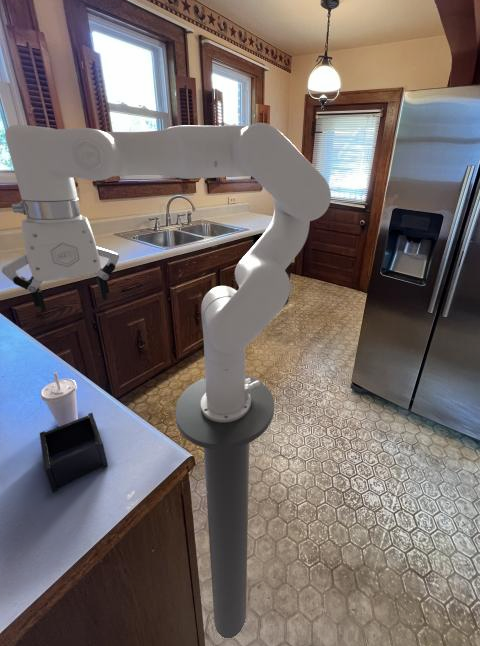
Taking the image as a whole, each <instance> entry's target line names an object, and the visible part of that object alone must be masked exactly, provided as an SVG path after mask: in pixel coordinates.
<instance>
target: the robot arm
mask: <svg viewBox="0 0 480 646" xmlns="http://www.w3.org/2000/svg"><path fill="white" fill-rule="evenodd" d="M4 136H5V140H6V141H5V142H6V145H7V149H8V153H9V157H10V161H11V163H12V167H13V171H14V175H15V178H16V179H15V180H16V183H17V186H18V190H19V194H20V198H21V201H19V202H17V203H11V208H12V212H13V213H14V214H20V215H21V214H23V215H24V216H26V218H23V219H22V221H21V233H22V240H23V245H24V250H25V254H22V256H19V257H18V258H16V259H14V260H13V261H11V262H9V263H7V264H5V265H4V266H2V267H1V273H2V274H3V275H4V276H6V277H7V279H8V280H10V281H11V282H13V284H15V285H16V286H18V287H20V288H23V289H25V290H27V291H28V292H29V293H30V295H31V298H32V303H33V306H34V308H40V311H41V313H46V312H47V307H46V304H45V299H44V297H43V293H42V289H41V285H42V283H43V282H50V281H51V282H52V281H57V280H64V279H70V278H77V277H83V276H88V275H93V274H95V275H96V279H95V280H96V283H97V289H98V294H99V296H100V298H101V299H102V300H104V301H105V300H108V296H107V294H110V289H109V283H108V280H109V278H110V275H112V273H114V271H115V269H116V266H117V264H118V261H119V259H120V255H119V254H118V253H117V252H114V251H113V250H109V249H105V248H102V247H99V246H97V242H96V239H95V236H94V233H93V229H92V227H91V224H90V221H89V219H88V217H87V216H84V215H82V213H81V212H82V211H81V207H80V203H79V198H78V192H77V191H78V190H77V187H76V182H75V179H81V180H85V181H86V180H88V181H95V182H96V181H104V180H108V179H110V178H112V177H128V176H167V177H171V178H177V179H187V180H188V179H189V180H195V179H214V178H215V179H216V178H238V177H239V178H240V177H252V178H253V179H254V180H255V181H256V182H257V183H258V184H259V185H260V186H261V187H262V188H263V189H264V190H265V191H266V192H268V194H270V195H271V199H272V202H273V214H272V215H273V216H272V218H271V221H270V223H269V225H268V227H267V228H266V230H265V231H264V232H263V233H262V235H261V236H260V237H259V239H258V240H257V241H256V242H255V243H254V244H253V246H252V247H251V248H250V249H249V250H248V251H247V252H246V254H244V255H243V257H242V258H241V259H240V260H239V261H238V263H237V265H236V266H235V269H234V278H235V282H236V284H237V286H238V289H237V290H236V289H235V288H233V287H231V286H227V285H218V286H215V287H213V288H211V289H210V290H209V291H207V292H206V294H205V295H204V297H203V299H202V301H201V307H200V313H201V314H200V315H201V317H200V318H201V325H202V335H203V336H202V337H203V349H204V350H203V352H204V354H203V356H204V378H206V393H205V394H204V395H203V397H202V399H201V403H200V406H201V411H202V413H203V415H204V416H205V417H206V418H208V419H210V420H212V421H215V422H220V423H226V422H232V421H235V420H238V419H240V418H241V417H243V416H244V415H245V414H246V413H247V412H248V410H249V408H250V405H251V398H250V395H249V394H250V393H251V391H252V390H255V389H257V388H259V387H261V384H260V382H259V381H260V380H259V379H257V381H255V382H253V383H251V379H250V378H248V379H246V380H245V375H246V350H247V349H246V348H247V347H248V346H249V345H250V344H251V343H253V341H254V340H255V339H256V338H257V337H258V336H259V335H260V334H261V333H262V331H263V330H264V329H265V328H266V327H267V326H268V325H269V324H270V323H271V321H272V320H273V319H275V317H276V316H277V315H278V313H279V312H280V311H281V310H282V309H283V307H284V306H285V305H286V303H287V302H288V299H289V296H290V294H291V280H290V277H289V274H288V273H287V272H286V271H287V268H288V267H289V266H290V265H291V264H292V263H293V261H294V259H295V258H296V257H297V256H298V255H299V253H300V252H301V250H302V249H303V247H304V246H305V244H306V241H307V239H308V237H309V232H310V223H311V222H313V221H315V220H318V219H319V218H321V217H322V216H324V215H325V213H326V212H327V210H329V207H330V205H331V201H332V193H331V188H330V185H329V183H328V181H327V180H326V178H325V177H324V176H323V175H322V173H321V172H320V171H319V170H318V169H317V168H316V167H315V166H314V165H313V164H312V163H311V162H310V161H309V160H308V159H307V157H305V156H304V154H302V152H301V151H300V150H299V149H298V148H297V147H296V146H295V145H294V144H293V143H292V142H291V141H290V140H289V139H288V138H287V137H286V136H285V135H284V134H283V133H282V132H281V131H280V130H279V129H278V128H277V127H275V126H273V125H271V124H269V123H266V122H256V123H252V124H249V125H186V124H185V125H175V126H170V127H167V128H164V129H158V130H150V131H149V130H147V131H102V130H99V129H96V128H92V127H91V128H90V127H75V128H53V127H49V126H48V127H47V126H37V125H24V124H13V125H9V126H7V127H6V129H5V133H4ZM100 257H104V258H107V259H108V261H107V263H106V264H105V265H104V266H103V268H102V267H101V266H102V265H101V259H100ZM27 265H28V267H29V270H30V273H31V276H30V278H29V279H28V278H26V277H24V276H22V275H20V274H19V273H18V272H17V271H18V270H20V269H21V268H22V269H23V268H24V267H25V266H27ZM258 380H259V381H258ZM249 383H251V384H249Z"/></svg>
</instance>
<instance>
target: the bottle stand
mask: <svg viewBox="0 0 480 646" xmlns="http://www.w3.org/2000/svg"><path fill="white" fill-rule="evenodd" d="M39 440H40V447H41V455H42V461H43V469H44V473H45V475H46V478H47V482H48V485H49V487H50V489H51V492H52V494H54V493H56V492H58V491H59V489H61V488H63V487H64V486H67V485H69V484H70V483H73V482H74V481H77V480H79V479H81V478H83V477H84V476H87V475H89V474H92V473H93V472H95V471H97V470H99V469H101V468H103V469H104V468H106V467H108V466H109V463H108V459H107V456H106V451H105V447H104V443H103V440H102V437H101V433H100V431H99V428H98V425H97V423H96V419H95V417H94V413H93V412H89V413H87V415H85V416H83V417H80V418H78V420H75V421H72V422H70V423H67V424H65V425H62V426H60V427H59V426H57V427H55V428H51V429H50V430H47V431H46V430H45V431H40V432H39ZM92 440H94V442H93V443H91V444H88V445H86V446H84V447H82V448H79V449H77V450H75V451H73V452H71V453H68V454H66V455H64V456H61V457H59V458H56V459H55V460H54V458H53V457H55V456H58V455H60V454H62V453H65V452H67V451H69V450H71V449H73V448H76V447H78V446H80V445H82V444H85V443H87V442H89V441H92Z"/></svg>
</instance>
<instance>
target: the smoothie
mask: <svg viewBox="0 0 480 646" xmlns="http://www.w3.org/2000/svg"><path fill="white" fill-rule="evenodd" d="M52 373H53V377H54V381H52V382H49V383H48V384H46V385H45V386H44V387H43V388H42V389H41V391H40V398H41V400H42V401H44V402H45V404H46V406H47V408H48V409H49V411H50V413H51V415H52V417H53V419H54V420H55V422H56V425H57V427H60V426H62V425H65V424H67V423H70V422H72V421H75V420H78V419H79V416H78V415H79V414H78V403H77V389H78V384H77V382H76V380H74V379H72V378H62V379H59V376H58V372H57V371H54V372H52Z"/></svg>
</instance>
